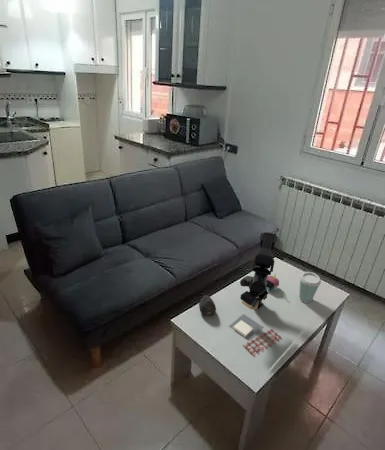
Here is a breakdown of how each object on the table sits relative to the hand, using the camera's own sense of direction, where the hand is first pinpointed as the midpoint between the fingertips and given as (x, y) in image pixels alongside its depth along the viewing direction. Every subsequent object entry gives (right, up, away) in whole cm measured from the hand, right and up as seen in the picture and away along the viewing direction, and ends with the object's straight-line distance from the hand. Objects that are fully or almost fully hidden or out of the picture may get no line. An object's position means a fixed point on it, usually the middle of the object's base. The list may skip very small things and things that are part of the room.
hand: (255, 305), depth 144 cm
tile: (-3, -10, +2) cm, 11 cm away
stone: (-22, -6, +11) cm, 26 cm away
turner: (-2, 0, +2) cm, 3 cm away
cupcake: (+15, +2, +31) cm, 34 cm away
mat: (-4, -11, +3) cm, 12 cm away
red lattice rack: (+2, -17, -5) cm, 17 cm away
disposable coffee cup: (+32, -3, +24) cm, 40 cm away
